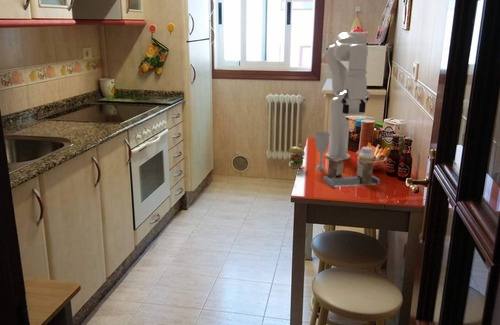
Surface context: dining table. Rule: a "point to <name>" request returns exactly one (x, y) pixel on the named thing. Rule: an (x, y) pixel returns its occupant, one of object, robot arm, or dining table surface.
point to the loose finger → (335, 167)
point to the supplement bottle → (366, 154)
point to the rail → (349, 181)
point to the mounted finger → (365, 170)
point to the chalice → (321, 146)
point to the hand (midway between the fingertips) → (353, 112)
